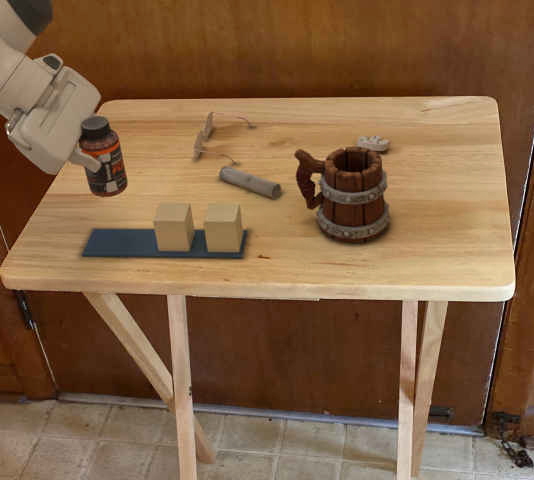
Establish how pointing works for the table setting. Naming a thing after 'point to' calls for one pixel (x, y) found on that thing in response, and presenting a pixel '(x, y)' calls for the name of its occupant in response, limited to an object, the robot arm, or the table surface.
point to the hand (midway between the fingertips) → (106, 154)
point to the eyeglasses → (207, 128)
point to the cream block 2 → (223, 227)
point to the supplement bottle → (103, 157)
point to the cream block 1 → (174, 226)
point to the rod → (250, 182)
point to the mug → (346, 192)
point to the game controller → (373, 143)
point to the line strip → (148, 245)
